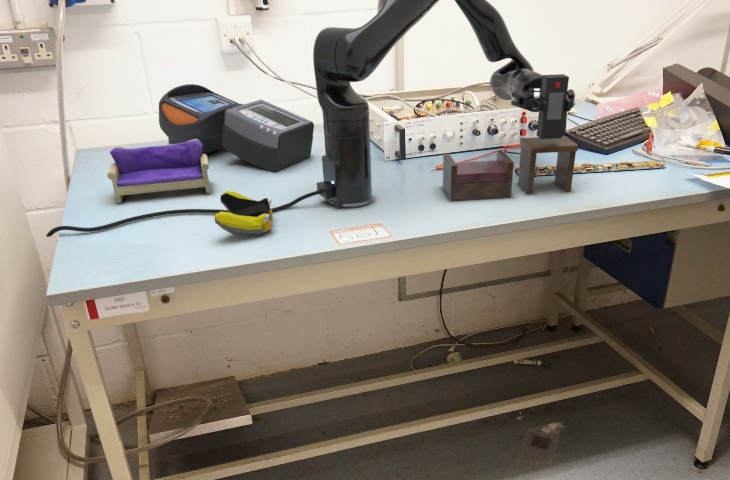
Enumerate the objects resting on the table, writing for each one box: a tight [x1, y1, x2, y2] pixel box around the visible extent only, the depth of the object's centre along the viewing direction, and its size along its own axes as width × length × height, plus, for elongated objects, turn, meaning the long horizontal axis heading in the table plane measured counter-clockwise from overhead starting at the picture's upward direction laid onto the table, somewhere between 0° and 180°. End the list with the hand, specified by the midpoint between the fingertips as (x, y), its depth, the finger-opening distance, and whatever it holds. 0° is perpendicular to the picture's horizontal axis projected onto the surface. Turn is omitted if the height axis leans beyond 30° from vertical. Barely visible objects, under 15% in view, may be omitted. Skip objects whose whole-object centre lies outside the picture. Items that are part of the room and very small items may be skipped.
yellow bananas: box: [214, 190, 274, 238], centre depth 125 cm, size 15×6×10 cm
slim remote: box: [536, 73, 570, 139], centre depth 133 cm, size 4×3×12 cm
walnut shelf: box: [517, 135, 579, 195], centre depth 140 cm, size 10×8×10 cm
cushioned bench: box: [442, 150, 515, 202], centre depth 139 cm, size 13×9×8 cm
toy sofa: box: [106, 139, 211, 204], centre depth 142 cm, size 21×9×10 cm, turn 105°
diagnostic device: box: [158, 83, 315, 173], centre depth 167 cm, size 38×17×22 cm
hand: (557, 106), depth 131 cm, fingers closed on slim remote, 4 cm apart
